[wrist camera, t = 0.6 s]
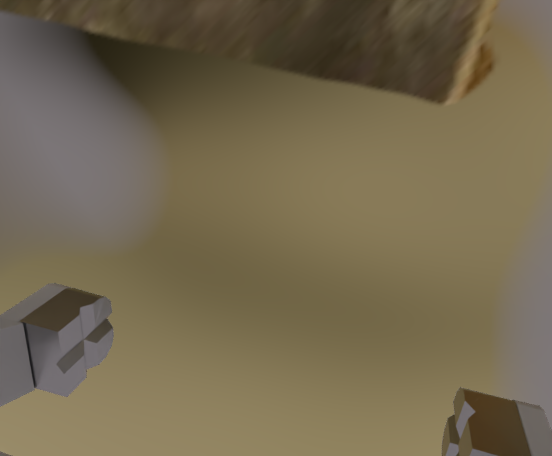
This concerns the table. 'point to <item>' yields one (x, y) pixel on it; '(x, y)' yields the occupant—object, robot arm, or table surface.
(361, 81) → the table surface
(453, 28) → the table surface
